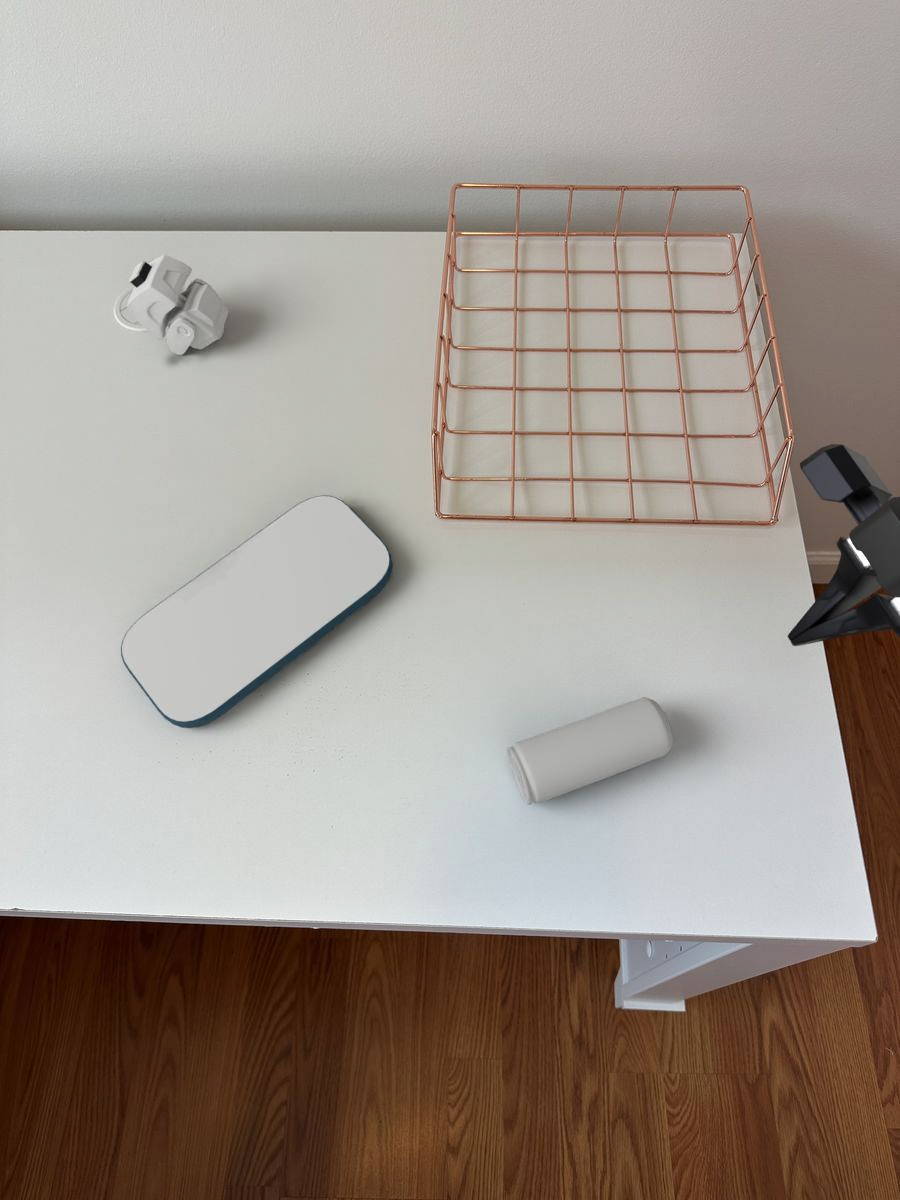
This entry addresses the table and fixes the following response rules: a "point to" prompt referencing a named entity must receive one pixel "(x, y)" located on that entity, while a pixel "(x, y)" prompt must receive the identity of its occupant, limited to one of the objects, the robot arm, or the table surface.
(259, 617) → the external hard drive
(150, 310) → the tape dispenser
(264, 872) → the table surface
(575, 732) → the beverage can
